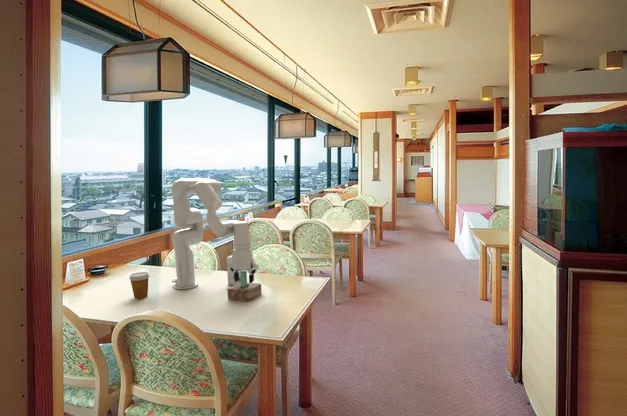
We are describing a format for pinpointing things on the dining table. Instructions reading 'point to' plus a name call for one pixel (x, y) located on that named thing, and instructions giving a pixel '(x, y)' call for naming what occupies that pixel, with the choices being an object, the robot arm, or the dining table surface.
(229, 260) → the skincare box
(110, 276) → the dining table surface
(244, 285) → the peg
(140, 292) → the disposable coffee cup
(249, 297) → the socket block
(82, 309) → the dining table surface
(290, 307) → the dining table surface
